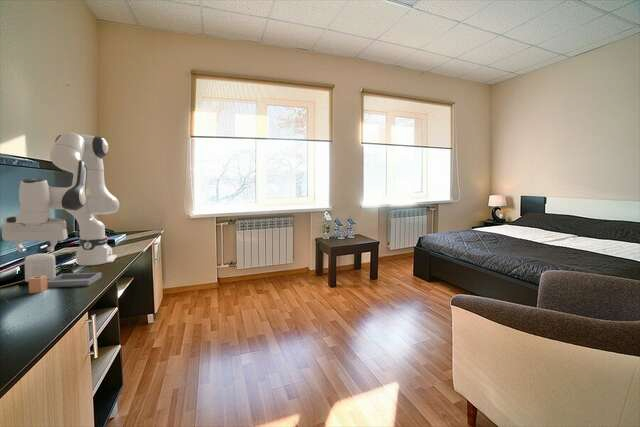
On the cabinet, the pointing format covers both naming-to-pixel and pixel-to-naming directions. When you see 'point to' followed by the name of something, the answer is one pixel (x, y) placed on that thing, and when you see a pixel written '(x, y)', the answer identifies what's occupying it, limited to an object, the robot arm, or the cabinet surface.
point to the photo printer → (40, 266)
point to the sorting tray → (73, 280)
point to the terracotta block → (37, 284)
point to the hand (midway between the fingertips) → (36, 251)
